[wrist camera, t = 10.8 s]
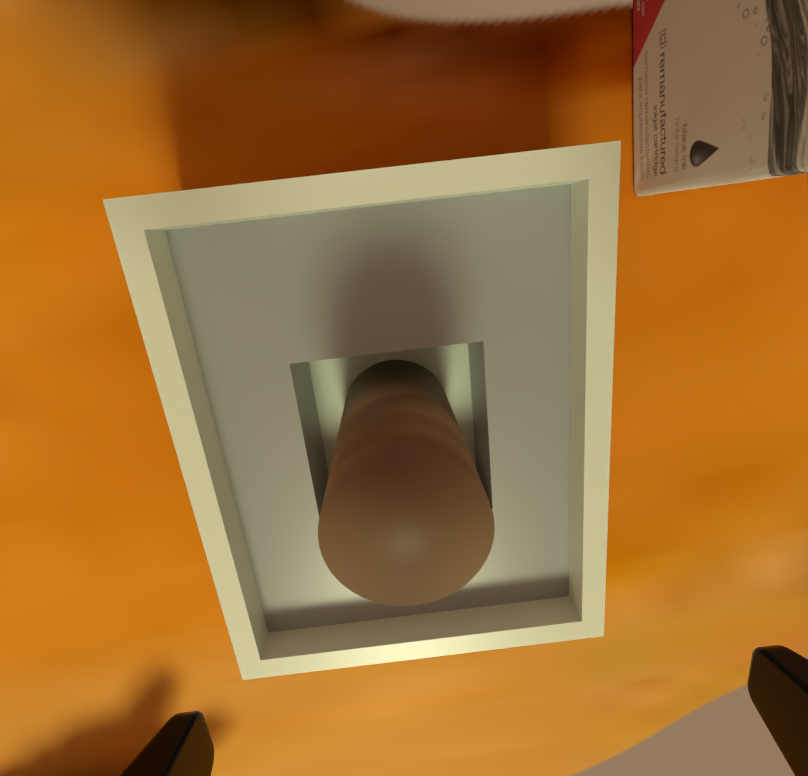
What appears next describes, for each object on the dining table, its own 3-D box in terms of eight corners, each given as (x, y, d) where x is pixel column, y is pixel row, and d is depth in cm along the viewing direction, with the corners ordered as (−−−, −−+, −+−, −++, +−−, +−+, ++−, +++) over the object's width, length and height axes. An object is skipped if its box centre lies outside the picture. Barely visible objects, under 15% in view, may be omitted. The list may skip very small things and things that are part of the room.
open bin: (551, 167, 16) (620, 140, 12) (554, 547, 21) (603, 636, 17) (184, 209, 16) (102, 199, 12) (273, 581, 21) (242, 679, 17)
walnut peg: (443, 353, 17) (490, 444, 10) (451, 449, 19) (498, 595, 11) (337, 366, 17) (303, 466, 10) (352, 461, 19) (332, 615, 11)
